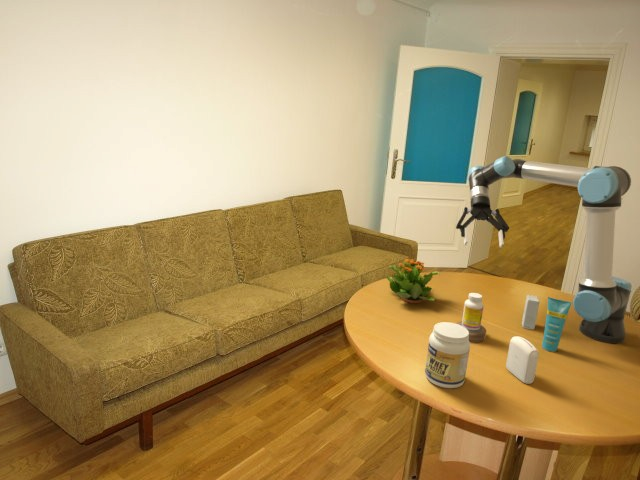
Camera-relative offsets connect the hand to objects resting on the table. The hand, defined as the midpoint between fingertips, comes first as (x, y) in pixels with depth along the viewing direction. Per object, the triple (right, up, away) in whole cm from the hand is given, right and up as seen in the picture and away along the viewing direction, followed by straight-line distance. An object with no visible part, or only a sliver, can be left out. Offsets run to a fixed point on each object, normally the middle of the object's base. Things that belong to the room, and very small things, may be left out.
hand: (483, 244), depth 181 cm
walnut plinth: (-8, -34, -7) cm, 35 cm away
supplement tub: (-25, -42, -36) cm, 61 cm away
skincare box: (+18, -32, +3) cm, 37 cm away
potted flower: (-24, -25, +23) cm, 41 cm away
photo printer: (0, -42, -32) cm, 53 cm away
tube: (+18, -37, -15) cm, 44 cm away
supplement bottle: (-8, -31, -8) cm, 33 cm away
